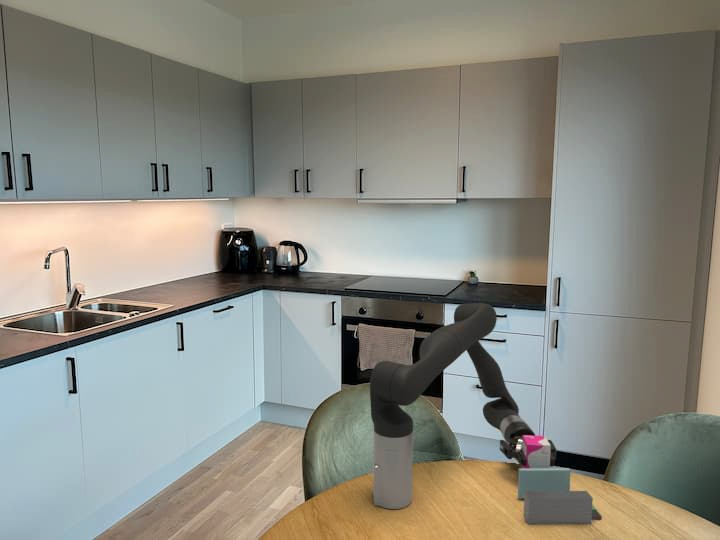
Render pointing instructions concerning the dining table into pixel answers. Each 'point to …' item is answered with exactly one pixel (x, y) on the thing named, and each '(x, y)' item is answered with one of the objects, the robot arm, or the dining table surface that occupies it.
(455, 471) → the dining table surface
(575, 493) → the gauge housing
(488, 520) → the dining table surface
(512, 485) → the dining table surface
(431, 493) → the dining table surface
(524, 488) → the gauge plate
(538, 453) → the supplement box
